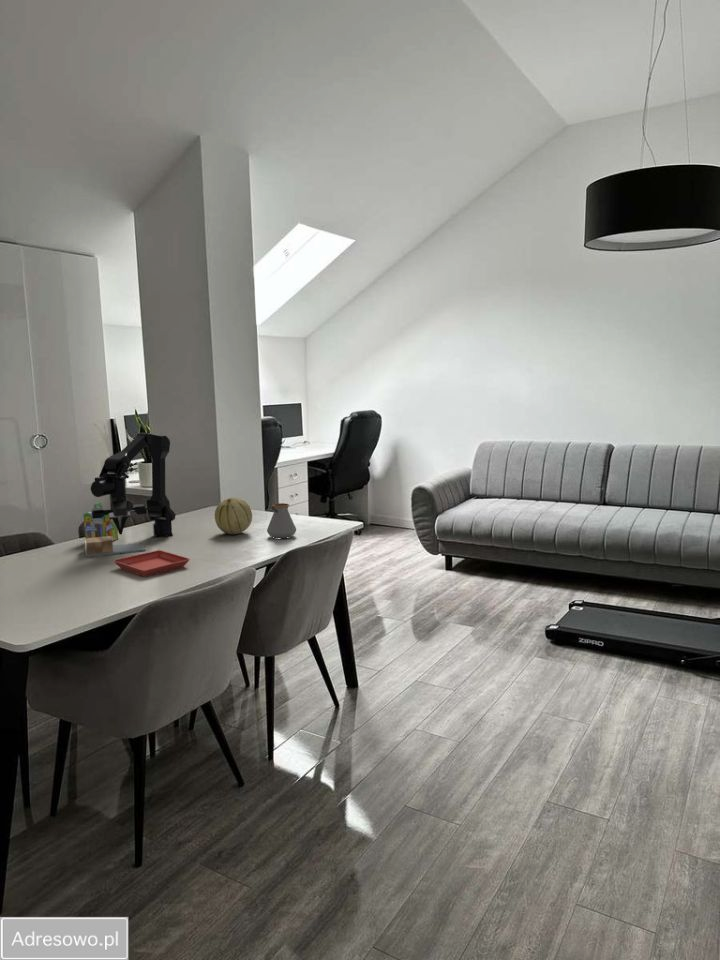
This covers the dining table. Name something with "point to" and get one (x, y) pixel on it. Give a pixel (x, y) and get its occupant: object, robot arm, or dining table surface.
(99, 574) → the dining table surface
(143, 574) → the plant saucer
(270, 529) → the coffee pot
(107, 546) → the block
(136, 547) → the mat
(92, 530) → the colorful printed box
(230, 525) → the cantaloupe
